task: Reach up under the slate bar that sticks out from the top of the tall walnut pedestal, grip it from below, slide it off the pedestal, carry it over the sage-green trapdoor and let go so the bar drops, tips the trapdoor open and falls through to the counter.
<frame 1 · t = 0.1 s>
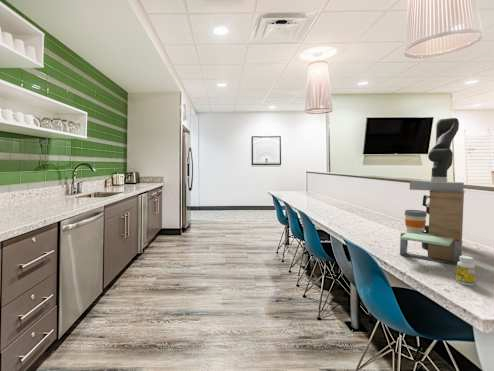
hand: (437, 214, 155), 17 cm above the countertop, tool pointing down, fingers open, 8 cm apart
reusable coffee cup: (414, 234, 186), on the countertop
walnut pedestal: (444, 258, 133), on the countertop
slate bar: (435, 190, 135), point 32 cm above the countertop, touching walnut pedestal
trapdoor frame: (425, 263, 126), on the countertop
trapdoor: (427, 238, 127), point 11 cm above the countertop, hinge at 0.0°
supplement bottle 2: (465, 283, 104), on the countertop
supplement bottle: (428, 248, 151), on the countertop
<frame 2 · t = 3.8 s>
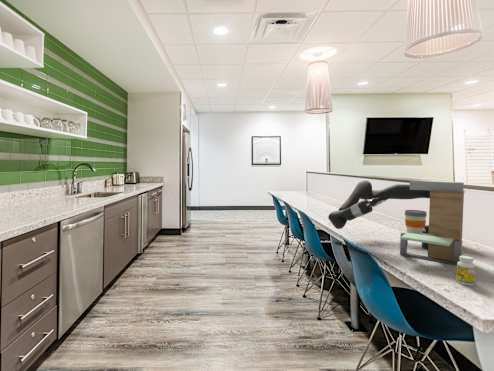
hand: (388, 195, 149), 28 cm above the countertop, tool pointing upward, fingers open, 8 cm apart
nothing on the countertop moved.
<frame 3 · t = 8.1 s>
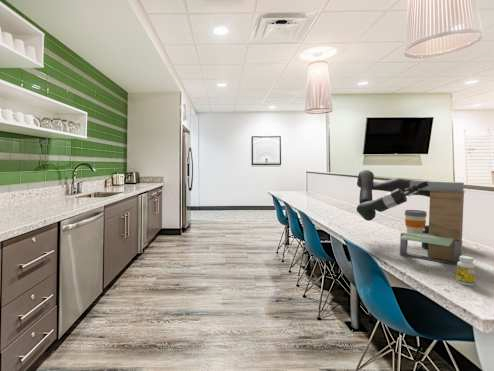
hand: (428, 183, 137), 35 cm above the countertop, tool pointing upward, fingers closed on slate bar, 4 cm apart
slate bar: (435, 190, 135), point 32 cm above the countertop, touching gripper, walnut pedestal
everything else where it was.
when the fingers open (26 cm above the countertop, at t = 13.6 s): slate bar drops 21 cm and tips over, point 2 cm above the countertop.
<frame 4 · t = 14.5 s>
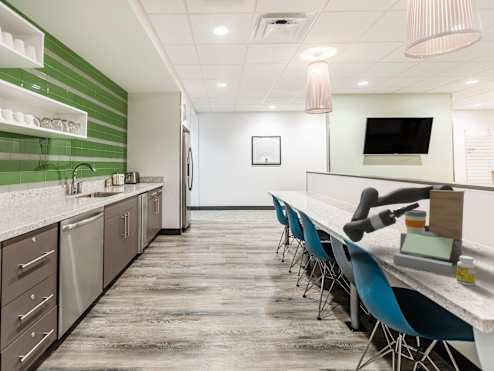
hand: (416, 205, 126), 26 cm above the countertop, tool pointing upward, fingers open, 8 cm apart
slate bar: (422, 262, 122), point 2 cm above the countertop, tilted 90°
trapdoor: (427, 243, 127), point 9 cm above the countertop, hinge at -32.4°
everything else where it was.
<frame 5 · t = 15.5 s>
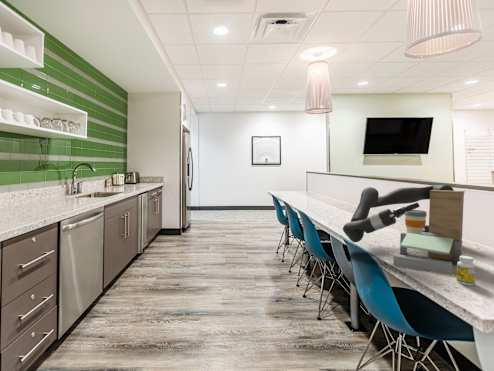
hand: (416, 205, 126), 26 cm above the countertop, tool pointing upward, fingers open, 8 cm apart
trapdoor: (427, 241, 127), point 10 cm above the countertop, hinge at -17.9°
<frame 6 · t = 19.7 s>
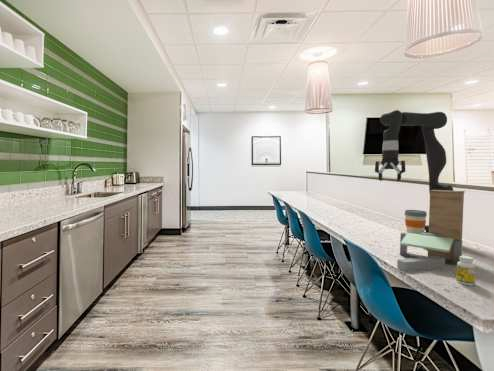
hand: (389, 180, 148), 36 cm above the countertop, tool pointing down, fingers open, 8 cm apart
slate bar: (417, 262, 123), point 2 cm above the countertop, tilted 90°
trapdoor: (427, 240, 127), point 10 cm above the countertop, hinge at -13.0°
everything else where it was.
at the end: slate bar point 1.6 cm above the countertop; slate bar moved 36.8 cm from its start; the gripper is holding nothing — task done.
